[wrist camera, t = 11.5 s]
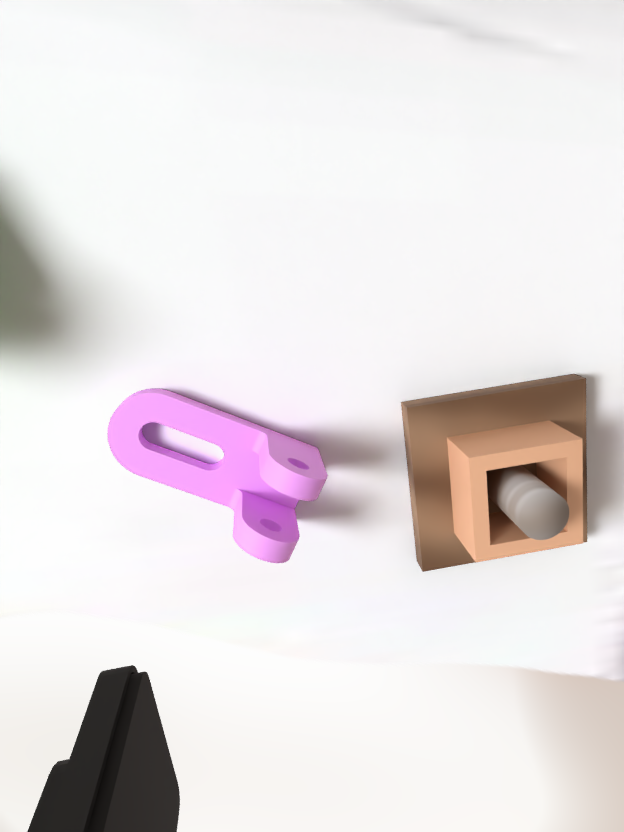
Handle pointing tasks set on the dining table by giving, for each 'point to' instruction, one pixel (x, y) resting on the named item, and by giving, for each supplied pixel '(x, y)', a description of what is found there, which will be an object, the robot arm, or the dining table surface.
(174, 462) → the bracket
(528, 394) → the post stand
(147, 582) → the dining table surface
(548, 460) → the collar
